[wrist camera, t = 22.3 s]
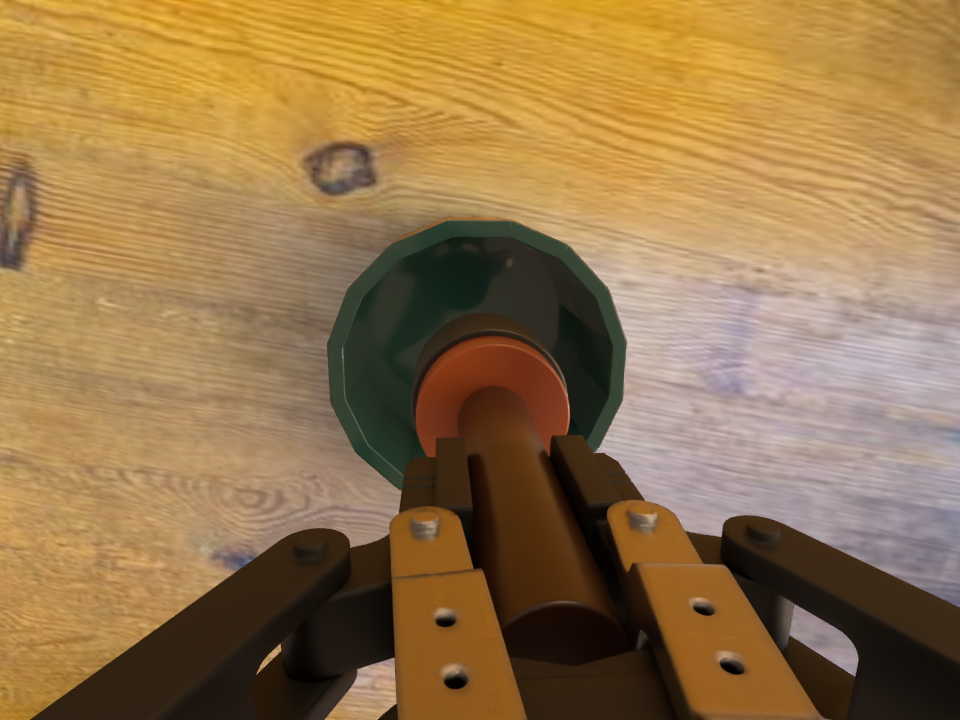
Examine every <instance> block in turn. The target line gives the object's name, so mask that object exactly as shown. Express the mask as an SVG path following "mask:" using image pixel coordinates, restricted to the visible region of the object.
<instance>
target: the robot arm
mask: <svg viewBox="0 0 960 720" xmlns="http://www.w3.org/2000/svg"><path fill="white" fill-rule="evenodd" d="M549 458H550V460H551V462H552V464H553V467H554V469H555V471H556V473H557V476H558V478H559V480H560V483H561V485H562V487H563V489H564V492H565V494H566V496H567V498H568V501H569V503H570V505H571V508H572V510H573V512H574V514H575V517H576V519H577V521H578V523H579V526H580V528H581V530H582V532H583V535H584V537H585V539H586V542H587V544H588V546H589V548H590V551H591V553H592V555H593V557H594V560H595V562H596V564H597V567H598V569H599V571H600V573H601V576H602V578H603V580H604V582H605V585H606V587H607V589H608V591H609V594H610V596H611V598H612V601H613V603H614V605H615V607H616V610H617V612H618V614H619V616H620V619H621V621H622V623H623V626H624V628H625V630H626V632H627V635H628V637H629V652H626V653H623V654H619V655H615V656H612V657H608V658H605V659H601V660H597V661H594V662H590V663H586V664H583V665H578V666H568V665H561V664H554V663H547V662H541V661H534V660H527V659H521V658H514V657H509V656H508V653H507V650H506V646H505V643H504V640H503V636H502V633H501V629H500V626H499V623H498V619H497V616H496V613H495V609H494V606H493V602H492V599H491V596H490V592H489V589H488V586H487V582H486V579H485V575H484V572H483V570H482V569H481V568H478V569H474V568H473V565H472V561H471V552H472V547H473V505H472V496H471V488H470V479H469V470H468V461H467V452H466V444H465V437H451V438H436V457H417V458H414V459H413V460H412V461H411V462H410V463H409V464H408V465H407V466H405V470H404V480H403V486H402V493H401V501H400V509H399V514H398V515H396V516H395V517H394V518H393V519H392V520H391V522H390V526H389V531H390V534H388V535H387V536H385V537H384V538H382V539H380V540H378V541H375V542H372V543H369V544H366V545H361V546H357V547H353V548H350V542H349V539H348V538H347V536H345V535H344V534H343V533H341V532H339V531H336V530H332V529H325V528H315V529H308V530H303V531H299V532H296V533H293V534H291V535H289V536H287V537H285V538H283V539H282V540H280V541H279V542H277V543H276V544H274V545H273V546H272V547H270V548H269V549H267V550H266V551H265V552H263V553H262V554H261V555H259V556H258V557H256V558H255V559H254V560H252V561H251V562H249V563H248V564H247V565H245V566H244V567H242V568H241V569H240V570H238V571H237V572H235V573H234V574H233V575H231V576H230V577H228V578H227V579H226V580H224V581H223V582H221V583H220V584H219V585H217V586H216V587H214V588H213V589H212V590H210V591H209V592H207V593H206V594H205V595H203V596H202V597H201V598H199V599H198V600H196V601H195V602H194V603H192V604H191V605H189V606H188V607H187V608H185V609H184V610H182V611H181V612H180V613H178V614H177V615H175V616H174V617H173V618H171V619H170V620H168V621H167V622H166V623H164V624H163V625H161V626H160V627H159V628H157V629H156V630H154V631H153V632H152V633H150V634H149V635H148V636H146V637H145V638H143V639H142V640H141V641H139V642H138V643H136V644H135V645H134V646H132V647H131V648H129V649H128V650H127V651H125V652H124V653H122V654H121V655H120V656H118V657H117V658H115V659H114V660H113V661H111V662H110V663H108V664H107V665H106V666H104V667H103V668H101V669H100V670H99V671H97V672H96V673H94V674H93V675H92V676H90V677H89V678H88V679H86V680H85V681H83V682H82V683H81V684H79V685H78V686H76V687H75V688H74V689H72V690H71V691H69V692H68V693H67V694H65V695H64V696H62V697H61V698H60V699H58V700H57V701H55V702H54V703H53V704H51V705H50V706H48V707H47V708H46V709H44V710H43V711H41V712H40V713H39V714H37V715H36V716H35V717H33V718H32V719H30V720H324V719H325V718H326V717H327V716H328V715H329V713H330V712H331V711H332V710H333V708H334V707H335V706H336V705H337V704H338V702H339V701H340V700H341V699H342V698H343V696H344V695H345V694H346V693H347V691H348V690H349V689H350V688H351V686H352V685H353V683H354V682H355V679H356V676H357V669H358V668H362V667H365V666H368V665H371V664H375V663H378V662H381V661H384V660H387V659H391V658H394V657H395V678H396V701H397V704H395V705H394V706H393V707H392V708H390V709H389V710H388V711H387V712H385V713H384V714H383V715H382V716H381V717H380V718H379V719H378V720H960V608H959V607H957V606H955V605H953V604H951V603H949V602H947V601H945V600H942V599H940V598H938V597H936V596H934V595H932V594H930V593H928V592H926V591H924V590H921V589H919V588H917V587H915V586H913V585H911V584H909V583H907V582H905V581H902V580H900V579H898V578H896V577H894V576H892V575H890V574H888V573H886V572H883V571H881V570H879V569H877V568H875V567H873V566H871V565H869V564H867V563H865V562H862V561H860V560H858V559H856V558H854V557H852V556H850V555H848V554H846V553H843V552H841V551H839V550H837V549H835V548H833V547H831V546H829V545H827V544H824V543H822V542H820V541H818V540H816V539H814V538H812V537H810V536H808V535H806V534H803V533H801V532H799V531H797V530H795V529H793V528H791V527H789V526H787V525H784V524H782V523H780V522H777V521H774V520H772V519H768V518H764V517H759V516H747V515H744V516H735V517H732V518H729V519H728V520H726V521H725V522H724V525H723V531H722V537H717V536H710V535H704V534H697V533H691V532H687V531H685V530H684V529H683V527H682V525H681V523H680V521H679V520H678V518H677V517H676V515H675V514H674V513H673V512H672V511H670V510H669V509H667V508H665V507H663V506H661V505H658V504H655V503H651V502H647V501H645V500H644V498H643V497H642V495H641V494H640V493H639V491H638V490H637V488H636V487H635V485H634V484H633V483H632V482H631V480H630V478H629V477H628V475H627V474H625V471H624V470H623V468H622V467H621V465H620V464H619V462H618V461H616V460H614V459H613V458H611V457H609V456H608V455H606V454H604V453H593V452H592V450H591V449H590V447H589V446H588V444H587V442H586V441H585V439H584V437H583V436H582V435H552V437H551V441H550V457H549ZM794 604H796V605H798V606H799V607H801V608H803V609H804V610H806V611H808V612H810V613H811V614H813V615H815V616H817V617H818V618H820V619H822V620H823V621H825V622H827V623H829V624H830V625H832V626H834V627H835V628H837V629H839V630H840V631H842V632H843V633H844V634H845V635H846V636H847V637H848V638H849V639H850V640H851V641H852V643H853V644H854V646H855V648H856V650H857V653H858V658H859V660H858V667H857V672H856V676H855V677H854V676H853V675H851V674H850V673H848V672H846V671H845V670H843V669H842V668H840V667H839V666H837V665H835V664H834V663H832V662H831V661H829V660H828V659H826V658H824V657H823V656H821V655H820V654H818V653H817V652H815V651H813V650H812V649H810V648H809V647H807V646H805V645H804V644H802V643H801V642H799V641H798V640H796V639H794V638H793V637H791V636H790V635H789V633H790V627H791V621H792V615H793V609H794ZM280 643H281V652H280V653H279V654H278V655H277V656H276V657H275V658H274V659H273V660H272V661H270V662H269V663H268V664H267V665H266V666H265V667H264V668H263V669H262V670H261V671H260V672H259V673H258V674H257V671H258V669H259V667H260V665H261V664H262V662H263V661H264V659H265V658H266V657H267V656H268V655H269V654H270V653H271V652H272V651H273V650H274V649H275V648H276V647H277V646H278V645H279V644H280ZM256 674H257V675H256Z"/></svg>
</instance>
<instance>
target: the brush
mask: <svg viewBox="0 0 960 720" xmlns="http://www.w3.org/2000/svg"><path fill="white" fill-rule="evenodd" d="M411 413H412V420H413V424H414V427H415V430H416V433H417V435H418V438H419V441H420V443H421V446H422V448H423V450H424V452H425V453H426V455H427V457H436V438H451V437H465V444H466V452H467V461H468V470H469V479H470V488H471V496H472V505H473V547H472V552H471V561H472V565H473V568H474V569H478V568H481V569H482V570H483V572H484V575H485V579H486V582H487V586H488V589H489V592H490V596H491V599H492V602H493V606H494V609H495V613H496V616H497V619H498V623H499V626H500V629H501V633H502V636H503V640H504V643H505V646H506V650H507V653H508V656H509V657H514V658H521V659H527V660H534V661H541V662H547V663H554V664H561V665H568V666H578V665H583V664H586V663H590V662H594V661H597V660H601V659H605V658H608V657H612V656H615V655H619V654H623V653H626V652H629V637H628V635H627V632H626V630H625V628H624V626H623V623H622V621H621V619H620V616H619V614H618V612H617V610H616V607H615V605H614V603H613V601H612V598H611V596H610V594H609V591H608V589H607V587H606V585H605V582H604V580H603V578H602V576H601V573H600V571H599V569H598V567H597V564H596V562H595V560H594V557H593V555H592V553H591V551H590V548H589V546H588V544H587V542H586V539H585V537H584V535H583V532H582V530H581V528H580V526H579V523H578V521H577V519H576V517H575V514H574V512H573V510H572V508H571V505H570V503H569V501H568V498H567V496H566V494H565V492H564V489H563V487H562V485H561V483H560V480H559V478H558V476H557V473H556V471H555V469H554V467H553V464H552V462H551V460H550V458H549V457H550V441H551V437H552V435H567V432H568V428H569V421H570V406H569V400H568V393H567V386H566V383H565V379H564V376H563V374H562V372H561V370H560V367H559V366H558V364H557V363H556V361H555V360H554V358H553V357H552V355H551V354H550V353H549V351H548V350H547V349H546V347H545V346H544V345H543V344H542V342H541V341H540V340H539V338H538V337H537V336H536V335H535V334H534V333H533V332H532V331H531V330H530V329H529V328H528V327H526V326H525V325H523V324H522V323H520V322H519V321H517V320H515V319H513V318H510V317H507V316H504V315H500V314H495V313H474V314H469V315H465V316H462V317H459V318H456V319H454V320H452V321H450V322H448V323H447V324H445V325H444V326H442V327H441V328H440V329H439V330H438V331H436V332H435V333H434V334H433V335H432V336H431V338H430V339H429V340H428V341H427V343H426V344H425V346H424V347H423V349H422V351H421V353H420V355H419V358H418V361H417V364H416V369H415V375H414V382H413V389H412V396H411Z"/></svg>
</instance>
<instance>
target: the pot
mask: <svg viewBox="0 0 960 720" xmlns="http://www.w3.org/2000/svg"><path fill="white" fill-rule="evenodd" d="M474 313H495V314H500V315H504V316H507V317H510V318H513V319H515V320H517V321H519V322H520V323H522V324H523V325H525V326H526V327H528V328H529V329H530V330H531V331H532V332H533V333H534V334H535V335H536V336H537V337H538V338H539V340H540V341H541V342H542V344H543V345H544V346H545V347H546V349H547V350H548V351H549V353H550V354H551V355H552V357H553V358H554V360H555V361H556V363H557V364H558V366H559V367H560V370H561V372H562V374H563V376H564V379H565V383H566V386H567V393H568V400H569V406H570V421H569V428H568V432H567V435H582V436H583V437H584V439H585V441H586V442H587V444H588V446H589V447H590V449H591V450H592V452H593V453H594V452H595V451H596V450H597V448H599V446H600V444H601V442H602V440H603V438H604V436H605V435H606V433H607V431H608V429H609V427H610V425H611V423H612V421H613V419H614V417H615V415H616V413H617V411H618V409H619V407H620V405H621V403H622V401H623V394H624V381H625V369H626V356H627V340H626V337H625V334H624V331H623V329H622V326H621V323H620V320H619V317H618V314H617V311H616V308H615V305H614V302H613V299H612V296H611V293H610V290H609V289H608V287H607V286H606V285H605V284H604V283H603V282H602V281H601V280H600V279H599V278H598V276H597V275H596V274H595V273H594V272H593V271H592V270H591V269H590V268H589V267H588V266H587V264H586V263H585V262H584V261H583V260H582V259H581V258H580V257H579V256H578V255H577V254H576V252H575V251H574V250H573V249H572V248H571V247H570V246H568V245H567V244H565V243H563V242H561V241H558V240H556V239H554V238H551V237H549V236H547V235H545V234H542V233H540V232H538V231H536V230H533V229H531V228H529V227H527V226H524V225H522V224H520V223H518V222H515V221H512V220H508V219H503V218H499V217H446V218H443V219H441V220H439V221H436V222H434V223H431V224H429V225H426V226H424V227H422V228H419V229H417V230H415V231H412V232H410V233H407V234H405V235H403V236H401V237H399V238H398V239H397V240H396V241H394V242H393V243H392V244H391V245H390V246H389V247H388V248H387V249H386V250H385V251H384V252H383V253H382V254H381V255H380V256H379V257H378V258H377V259H376V260H375V261H374V262H373V263H372V264H371V265H370V266H369V267H368V268H367V269H366V270H365V271H364V272H363V273H362V274H361V276H360V277H359V278H358V279H357V280H356V281H355V282H354V283H353V284H352V285H351V286H350V287H349V288H348V290H347V292H346V295H345V297H344V300H343V303H342V305H341V308H340V311H339V314H338V316H337V319H336V322H335V324H334V327H333V330H332V332H331V335H330V338H329V340H328V343H327V354H328V371H329V387H330V401H331V405H332V407H333V409H334V411H335V413H336V415H337V417H338V419H339V421H340V423H341V425H342V427H343V429H344V431H345V433H346V435H347V437H348V439H349V441H350V443H351V445H352V447H353V448H354V450H355V452H356V453H357V454H358V455H359V456H360V457H361V458H363V459H364V460H365V461H366V462H367V463H368V464H370V465H371V466H372V467H373V468H374V469H375V470H377V471H378V472H379V473H380V474H381V475H382V476H384V477H385V478H386V479H387V480H388V481H389V482H391V483H392V484H393V485H394V486H395V487H396V488H398V489H399V490H402V486H403V480H404V470H405V466H407V465H408V464H409V463H410V462H411V461H412V460H413V459H414V458H417V457H427V455H426V453H425V452H424V450H423V448H422V446H421V443H420V441H419V438H418V435H417V433H416V430H415V427H414V424H413V420H412V413H411V396H412V389H413V382H414V375H415V369H416V364H417V361H418V358H419V355H420V353H421V351H422V349H423V347H424V346H425V344H426V343H427V341H428V340H429V339H430V338H431V336H432V335H433V334H434V333H435V332H436V331H438V330H439V329H440V328H441V327H442V326H444V325H445V324H447V323H448V322H450V321H452V320H454V319H456V318H459V317H462V316H465V315H469V314H474Z"/></svg>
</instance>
